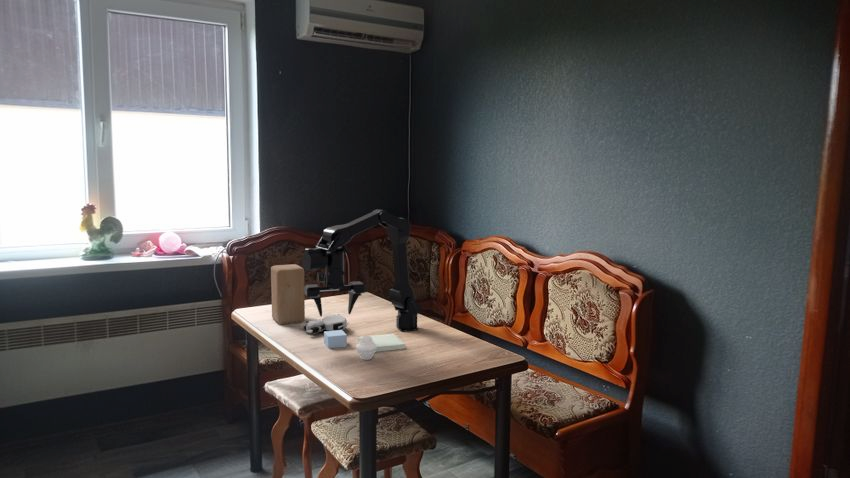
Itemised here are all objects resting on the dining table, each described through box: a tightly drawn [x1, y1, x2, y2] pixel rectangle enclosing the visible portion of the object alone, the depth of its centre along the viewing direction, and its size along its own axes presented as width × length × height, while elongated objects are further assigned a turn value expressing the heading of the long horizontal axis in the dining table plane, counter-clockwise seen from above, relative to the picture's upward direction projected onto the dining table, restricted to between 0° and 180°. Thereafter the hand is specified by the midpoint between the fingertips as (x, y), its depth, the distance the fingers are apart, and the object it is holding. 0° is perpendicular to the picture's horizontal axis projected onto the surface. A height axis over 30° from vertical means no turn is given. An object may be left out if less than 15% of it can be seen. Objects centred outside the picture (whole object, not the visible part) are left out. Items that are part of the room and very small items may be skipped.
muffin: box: [355, 335, 377, 361], centre depth 189 cm, size 6×6×7 cm
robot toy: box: [300, 313, 350, 335], centre depth 217 cm, size 12×4×15 cm
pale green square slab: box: [358, 333, 406, 353], centre depth 202 cm, size 12×12×2 cm
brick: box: [323, 330, 348, 349], centre depth 202 cm, size 6×6×4 cm
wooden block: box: [270, 263, 306, 325], centre depth 229 cm, size 10×10×20 cm
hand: (335, 315), depth 201 cm, fingers open, 9 cm apart
